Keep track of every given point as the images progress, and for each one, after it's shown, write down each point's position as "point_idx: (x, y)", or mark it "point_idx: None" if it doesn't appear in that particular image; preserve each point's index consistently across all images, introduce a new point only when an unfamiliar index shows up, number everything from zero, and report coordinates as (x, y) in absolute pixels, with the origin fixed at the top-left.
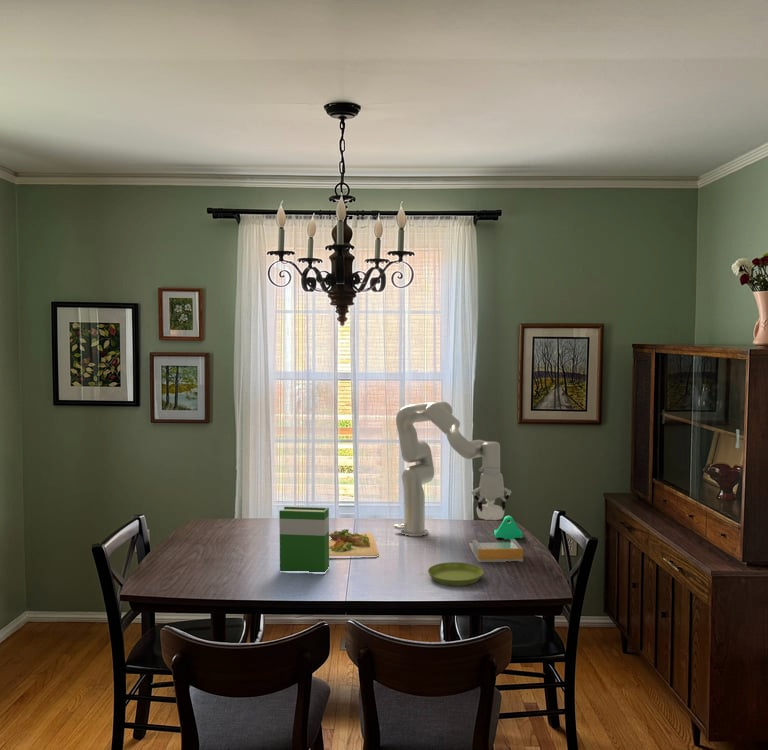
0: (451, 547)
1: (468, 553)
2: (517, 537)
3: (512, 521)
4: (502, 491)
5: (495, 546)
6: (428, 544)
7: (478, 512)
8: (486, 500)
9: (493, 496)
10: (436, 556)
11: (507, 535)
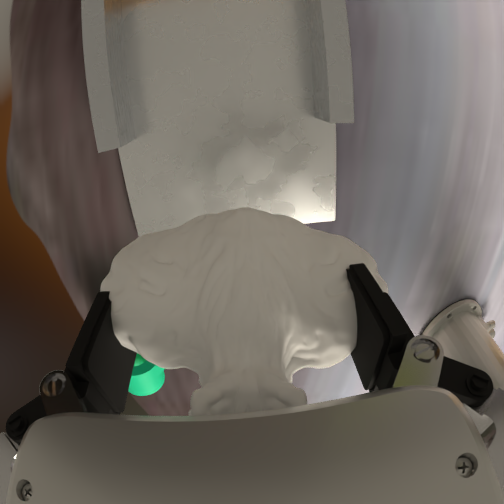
0: (405, 184)
1: (353, 89)
2: None
3: None
4: (23, 498)
5: (210, 167)
6: (461, 224)
7: (371, 262)
8: None
9: (205, 435)
10: (467, 73)
11: None
